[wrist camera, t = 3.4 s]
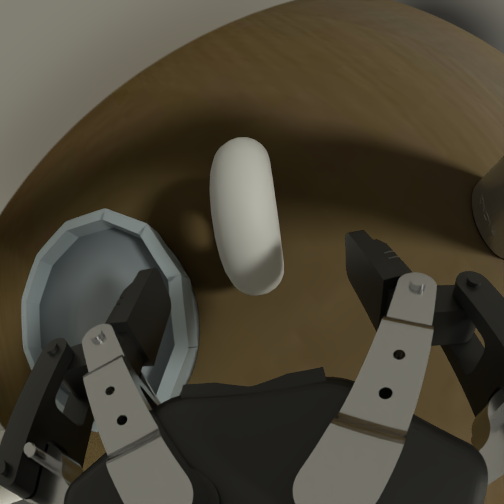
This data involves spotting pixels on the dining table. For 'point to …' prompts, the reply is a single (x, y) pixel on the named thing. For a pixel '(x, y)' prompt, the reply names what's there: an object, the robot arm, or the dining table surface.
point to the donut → (246, 216)
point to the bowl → (108, 293)
